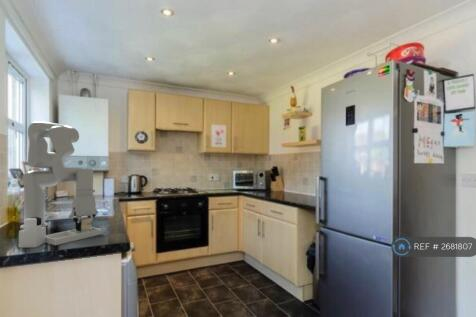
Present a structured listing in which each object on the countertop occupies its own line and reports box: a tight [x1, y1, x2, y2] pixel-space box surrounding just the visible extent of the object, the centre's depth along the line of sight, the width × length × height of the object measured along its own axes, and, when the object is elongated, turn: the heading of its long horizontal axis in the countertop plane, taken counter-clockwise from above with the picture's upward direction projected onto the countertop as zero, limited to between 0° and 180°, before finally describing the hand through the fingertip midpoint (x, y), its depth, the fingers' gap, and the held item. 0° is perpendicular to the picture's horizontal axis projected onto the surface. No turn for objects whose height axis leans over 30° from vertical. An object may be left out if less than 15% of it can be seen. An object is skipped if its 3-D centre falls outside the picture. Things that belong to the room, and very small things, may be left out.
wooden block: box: [76, 216, 93, 232], centre depth 139 cm, size 5×5×6 cm
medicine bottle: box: [18, 217, 47, 249], centre depth 122 cm, size 7×7×12 cm
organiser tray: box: [45, 226, 103, 246], centre depth 134 cm, size 12×22×2 cm, turn 151°
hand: (83, 228), depth 139 cm, fingers closed on wooden block, 5 cm apart
